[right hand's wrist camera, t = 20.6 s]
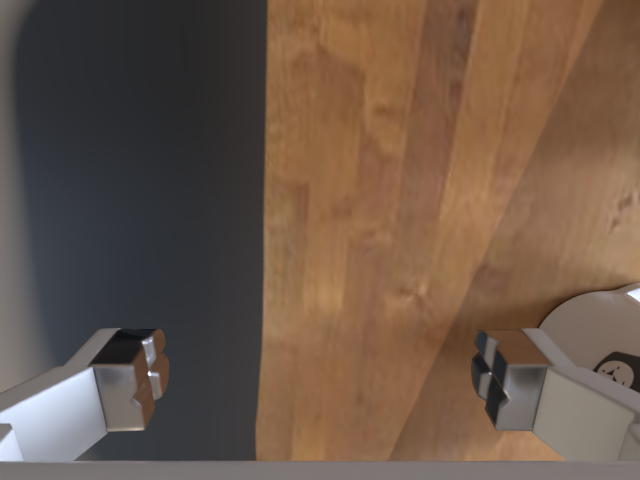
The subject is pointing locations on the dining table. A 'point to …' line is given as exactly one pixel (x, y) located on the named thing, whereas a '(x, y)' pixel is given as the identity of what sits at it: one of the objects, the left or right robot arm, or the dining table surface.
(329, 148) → the dining table surface
